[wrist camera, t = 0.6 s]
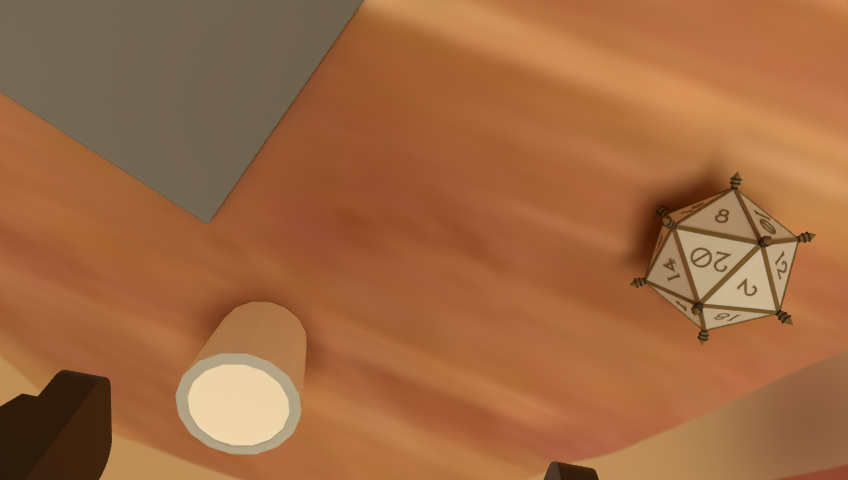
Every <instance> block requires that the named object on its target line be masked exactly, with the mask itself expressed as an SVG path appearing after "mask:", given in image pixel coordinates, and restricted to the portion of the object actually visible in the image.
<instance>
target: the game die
mask: <svg viewBox="0 0 848 480" xmlns="http://www.w3.org/2000/svg"><path fill="white" fill-rule="evenodd" d="M730 179H731V182H730V183H731V188H730V189H727V190H725V191H722V192H720V193H717V194H715V195H712V196H710V197H707V198H705V199H702V200H700V201H697V202H695V203H692V204H690V205H687V206H685V207H682V208H680V209H677V210H675V211H672V212H670V213H668V211H667V209H665V208H664V206H656V208H657V214H660V216H663V217H664V218H662V219H663V222H662V226H661V229H660V232H659V235H658V238H657V241H656V244H655V247H654V250H653V253H652V256H651V259H650V262H649V265H648V269H647V272H646V275H645V277H644V278H638V279H635V278H634V281H633V282H632V283H631V284H630V285H631V286H634V287H637V288H638V287H639V286H641V287H642V285H644V284H648V285H649V286H650V287H651V288H652V289H654V290H655V291H656V292H657V293H658V294H660V295H661V296H662V297H663V298H664V299H666V300H667V301H668V302H669V303H670V304H672V305H673V306H674V307H675V308H676V309H678V310H679V311H680V312H681V313H682V314H684V315H685V316H686V317H687V318H688V319H690V320H691V321H692V322H693V323H694V324H696V325H697V326H698V327H699V328H700V329H701V332H699V336H698V339H699V340H700V343H701V345H702V344H703V343H704V342H705V341H706V340H708V339H707V338H708V336H709V335H708V330H712V329H716V328H720V327H725V326H729V325H733V324H738V323H742V322H746V321H750V320H755V319H759V318H763V317H767V316H772V315H777V316H778V318H779V319H778V320H781V321H782V323H786V324H791V325H793V324H792V321H791V315H788V314H787V312H783V311H781V308H782V304H783V300H784V296H785V292H786V289H787V285H788V281H789V277H790V273H791V270H792V266H793V262H794V258H795V254H796V251H797V247H798V243H799V242H804V243H806V242H807V241H809V242H810V241H811V239H812V238H813V237H814V236H815V235H816V234H812V233H808V232H806V233H804V234H803V233H801V235H799V236H795V235H794V234H793V233H792V232H790V231H789V230H788V229H787V228H785V227H784V226H783V225H782V224H780V223H779V222H778V221H777V220H775V219H774V218H773V217H772V216H770V215H769V214H768V213H767V212H765V211H764V210H763V209H762V208H760V207H759V206H758V205H757V204H755V203H754V202H753V201H752V200H750V199H749V198H748V197H747V196H746V195H744V194H743V193H742V192H741V191H739V190H738V186H739V185H740V181H741V180H742V179H741V178H740V176H739V173H738V172H737V173H736V174H735V175H734V176H733V177H732V178H730Z"/></svg>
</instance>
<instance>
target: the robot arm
mask: <svg viewBox="0 0 848 480" xmlns="http://www.w3.org/2000/svg"><path fill="white" fill-rule="evenodd" d="M111 443H112V426H111V386H110V381H109V379H108V378H106V377H101V376H96V375H91V374H85V373H80V372H74V371H69V370H62V371H60V372H59V373H57V374H56V375H55V376H54V378H53V379H52V380H51V381H50V382H49V384H48V385H47V386H46V387H45V388H44V390H43V391H42V392H41V393H40V394H39V396H32V395H27V394H21V395H19V396H17V397H16V398H14V399H12V400H11V401H9V402H7V403H6V404H4V405H2V406H0V480H99V479H100V477H101V475H102V473H103V471H104V469H105V466H106V464H107V461H108V458H109V454H110V450H111ZM544 480H599V479H598V476H597V473H596V471H595V470H594V469H593V468H587V467H582V466H577V465H571V464H566V463H560V462H555V461H553V462H552V463H551V464H550V466H549V468H548V470H547V473H546V475H545V478H544Z"/></svg>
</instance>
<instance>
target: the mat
mask: <svg viewBox="0 0 848 480" xmlns="http://www.w3.org/2000/svg"><path fill="white" fill-rule="evenodd" d="M362 1H363V0H0V92H1V93H3V94H4V95H6V96H7V97H9V98H10V99H12V100H14V101H15V102H17V103H18V104H20V105H21V106H23V107H25V108H26V109H28V110H29V111H31V112H32V113H34V114H36V115H37V116H39V117H40V118H42V119H43V120H45V121H46V122H48V123H50V124H51V125H53V126H54V127H56V128H57V129H59V130H61V131H62V132H64V133H65V134H67V135H68V136H70V137H72V138H73V139H75V140H76V141H78V142H79V143H81V144H83V145H84V146H86V147H87V148H89V149H90V150H92V151H94V152H95V153H97V154H98V155H100V156H101V157H103V158H104V159H106V160H108V161H109V162H111V163H112V164H114V165H115V166H117V167H119V168H120V169H122V170H123V171H125V172H126V173H128V174H130V175H131V176H133V177H134V178H136V179H137V180H139V181H141V182H142V183H144V184H145V185H147V186H148V187H150V188H152V189H153V190H155V191H156V192H158V193H159V194H161V195H163V196H164V197H166V198H167V199H169V200H170V201H172V202H173V203H175V204H177V205H178V206H180V207H181V208H183V209H184V210H186V211H188V212H189V213H191V214H192V215H194V216H195V217H197V218H199V219H200V220H202V221H203V222H205V223H206V224H208V223H209V222H210V221H211V219H212V218H213V216H214V215H215V213H216V212H217V211H218V209H219V208H220V206H221V205H222V203H223V202H224V200H225V199H226V198H227V196H228V195H229V193H230V192H231V190H232V189H233V187H234V186H235V185H236V183H237V182H238V180H239V179H240V177H241V176H242V174H243V173H244V172H245V170H246V169H247V167H248V166H249V164H250V163H251V161H252V160H253V159H254V157H255V156H256V154H257V153H258V151H259V150H260V148H261V147H262V146H263V144H264V143H265V141H266V140H267V138H268V137H269V135H270V134H271V133H272V131H273V130H274V128H275V127H276V125H277V124H278V123H279V121H280V120H281V118H282V117H283V115H284V114H285V112H286V111H287V110H288V108H289V107H290V105H291V104H292V102H293V101H294V99H295V98H296V97H297V95H298V94H299V92H300V91H301V89H302V88H303V86H304V85H305V84H306V82H307V81H308V79H309V78H310V76H311V75H312V73H313V72H314V71H315V69H316V68H317V66H318V65H319V63H320V62H321V60H322V59H323V58H324V56H325V55H326V53H327V52H328V50H329V49H330V47H331V46H332V45H333V43H334V42H335V40H336V39H337V37H338V36H339V34H340V33H341V32H342V30H343V29H344V27H345V26H346V24H347V23H348V21H349V20H350V19H351V17H352V16H353V14H354V13H355V11H356V10H357V8H358V7H359V6H360V4H361V3H362Z"/></svg>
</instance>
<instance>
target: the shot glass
mask: <svg viewBox="0 0 848 480" xmlns="http://www.w3.org/2000/svg"><path fill="white" fill-rule="evenodd" d="M306 349H307V344H306V332H305V330H304V328H303V326H302V324H301V322H300V320H299V319H298V318H297V317H296V316H295V315H294V314H292V313H291V312H290V311H289V310H288V309H286V308H285V307H282V306H279V305H276V304H274V303H271V302H249V303H246V304H243V305H241V306H238V307H236V308H234V309H233V310H232V311H231V312H230V313H229V314H228V315H227V316H226V317H225V318H224V319H223V321H222V322H221V323H220V325H219V326H218V328H217V329H216V330H215V332H214V333H213V334H212V336H211V337H210V339H209V340H208V341H207V343H206V344H205V346H204V347H203V348H202V350H201V351H200V352H199V354H198V355H197V357H196V358H195V359H194V361H193V362H192V364H191V365H190V366H189V368H188V369H187V371H186V372H185V373H184V375H183V376H182V379H181V382H180V384H179V387H178V390H177V393H176V402H177V409H178V415H179V417H180V418H181V420H182V421H183V423H184V425H185V426H186V428H187V429H188V431H189V432H190V433H191V434H192V435H193V436H195V437H196V438H197V439H199V440H200V441H202V442H203V443H204V444H206V445H207V446H208V447H211V448H214V449H217V450H220V451H223V452H227V453H230V454H258V453H261V452H264V451H267V450H270V449H273V448H276V447H278V446H279V445H280V444H281V443H282V442H284V441H285V440H286V439H287V438H288V437H290V436H291V435H292V434H293V432H294V430H295V428H296V426H297V423H298V421H299V419H300V417H301V409H302V397H303V385H304V373H305V361H306Z"/></svg>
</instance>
